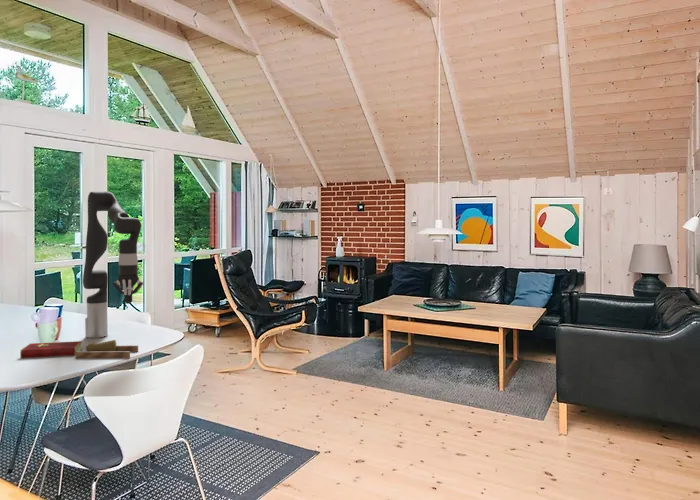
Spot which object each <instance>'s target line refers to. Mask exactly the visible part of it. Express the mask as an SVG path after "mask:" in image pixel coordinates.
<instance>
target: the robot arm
mask: <svg viewBox="0 0 700 500" xmlns="http://www.w3.org/2000/svg"><path fill="white" fill-rule="evenodd" d="M98 212H107V217H108V219H109V220H110V221H111V223H112V224H113V228H114V231H115V232H116V233H117V234H120V235H129V237H127V238H126V239H121V240H120V241H119V242H118V243H119V244H118V247H119V248H118V250H119V251H118V254H119V255H118V277H117V280H116V281H113V282H112V285H113V287H114V288H115V289H116V290H117V291H118V292H119V294H122V295H124V303H125V304H129V305H130V304H132V302H133V295H135V294H137V293H138V292H139V291H140V289H141V287H142V286H143V285H144V284H145V283H144V281H141V280H140V279H139V273H138V272H139V270H138V269H139V268H138V263H139V261H138V242H139V241H138V240H139V236H140V233H141V229H142V222H141V220H140V219H139V218H137V217H130V215H129V214H128V213H127V212H126V211H125V210H124V209H123V208H122V207H121V205H120V203H119V202H118V199H117V198H116V196H115V194H113V193H112V192H111V191H96V190H95V191H90V192H89V193H88V196H87V228H86V239H85V241H86V242H85V260H84V261H85V262H84V269H83V275H82V287H83V288H84V289H85V290H96V289H97V290H98V289H99V290H98V291H97V292H96V293H93V294H92V295H88V296H87V297H86V317H85V318H84V320H85V321H84V323H85V325H84V328H85V333H84V334H85V338H91V339H92V338H93V339H97V338H98V339H99V338H104V336H105V337H107V336H108V335H109V334H108V325H109V324H108V285H109V284H108V283H109V282H108V281H109V278H108V272H107V270H103V269H102V270H101V269H100V270H98V269H96V270H94V268H95V265H96V264H97V263H98V261H99V259H100V258H102V256H103V255H104V254H105V252H106V251H107V249H108V242H109V241H108V240H109V239H108V238H109V236H108V233H107V231H106V230H105V228H104V227H103V225H102V223H100V221H99V219H98ZM136 285H137V286H136ZM135 286H136V287H135Z"/></svg>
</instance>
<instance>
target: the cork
mask: <svg viewBox="0 0 700 500" xmlns="http://www.w3.org/2000/svg"><path fill="white" fill-rule="evenodd" d="M86 346H87V351H116V348H117V346H118V345H117V340H116V339H112V340H107V341H103V342H98V343H96V342H90V343H88V344H87V345H86Z"/></svg>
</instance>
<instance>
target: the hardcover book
mask: <svg viewBox="0 0 700 500" xmlns="http://www.w3.org/2000/svg"><path fill="white" fill-rule="evenodd" d="M82 344H83V341H82V340H81V341H78V340H77V341H75V340H74V341H57V342H54V341H53V342H32V343H28V344H27V345H26V346H24V347H23V348H21V349H20V354H19V355H20V359H30V358H31V359H32V358H33V359H34V358H49V357H50V358H51V357H52V358H53V357H68V356H69V357H70V356H71V357H72V356H76V353H75V352H81V350H82Z"/></svg>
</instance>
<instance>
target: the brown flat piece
mask: <svg viewBox="0 0 700 500" xmlns="http://www.w3.org/2000/svg"><path fill="white" fill-rule="evenodd" d="M87 346H88V345H86V346H85V350H86V351H84V350H83V351H79V352H75V353H76V355H75V359H118V358H119V359H123V358H124V359H129V358H131V352H137V353H138V352H139V344H138V345H134V344H133V345H132V344H131V345H116V346H117V348H116V351H87Z"/></svg>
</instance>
